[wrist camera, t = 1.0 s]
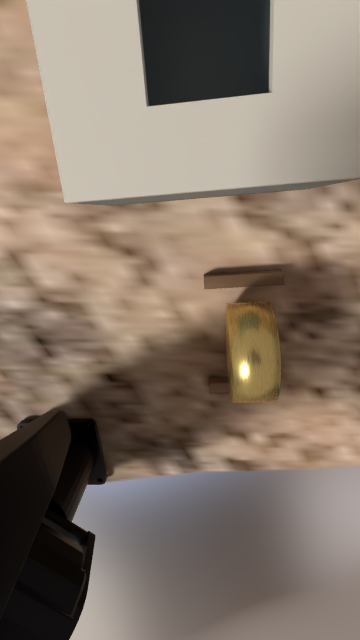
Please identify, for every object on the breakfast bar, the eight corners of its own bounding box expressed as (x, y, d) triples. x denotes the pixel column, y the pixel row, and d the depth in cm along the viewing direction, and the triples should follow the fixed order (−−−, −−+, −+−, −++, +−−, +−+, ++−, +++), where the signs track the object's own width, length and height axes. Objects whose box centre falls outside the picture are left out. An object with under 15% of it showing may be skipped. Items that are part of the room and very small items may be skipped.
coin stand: (277, 385, 23) (279, 391, 22) (209, 387, 23) (209, 393, 22) (281, 269, 20) (284, 271, 19) (203, 274, 20) (203, 276, 19)
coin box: (309, 188, 18) (372, 175, 11) (111, 205, 19) (64, 202, 12) (330, -157, 13) (456, -515, 7) (67, -110, 14) (-46, -378, 8)
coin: (259, 370, 22) (279, 424, 17) (226, 371, 22) (234, 425, 17) (260, 290, 20) (283, 321, 15) (224, 292, 20) (232, 324, 15)
